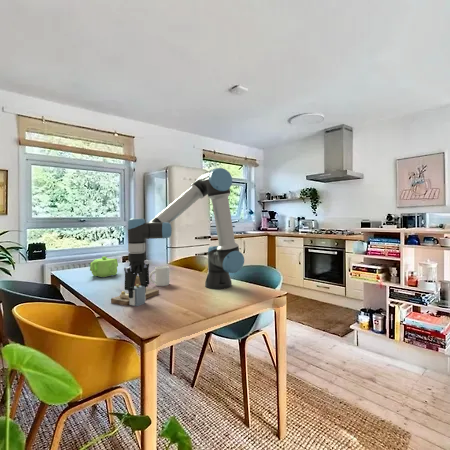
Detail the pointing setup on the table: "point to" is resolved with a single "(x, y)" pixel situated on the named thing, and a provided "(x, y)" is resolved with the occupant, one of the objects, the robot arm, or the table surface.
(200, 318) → the table surface
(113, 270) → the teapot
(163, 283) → the mug
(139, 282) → the fruit
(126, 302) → the board
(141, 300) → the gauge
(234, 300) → the table surface
